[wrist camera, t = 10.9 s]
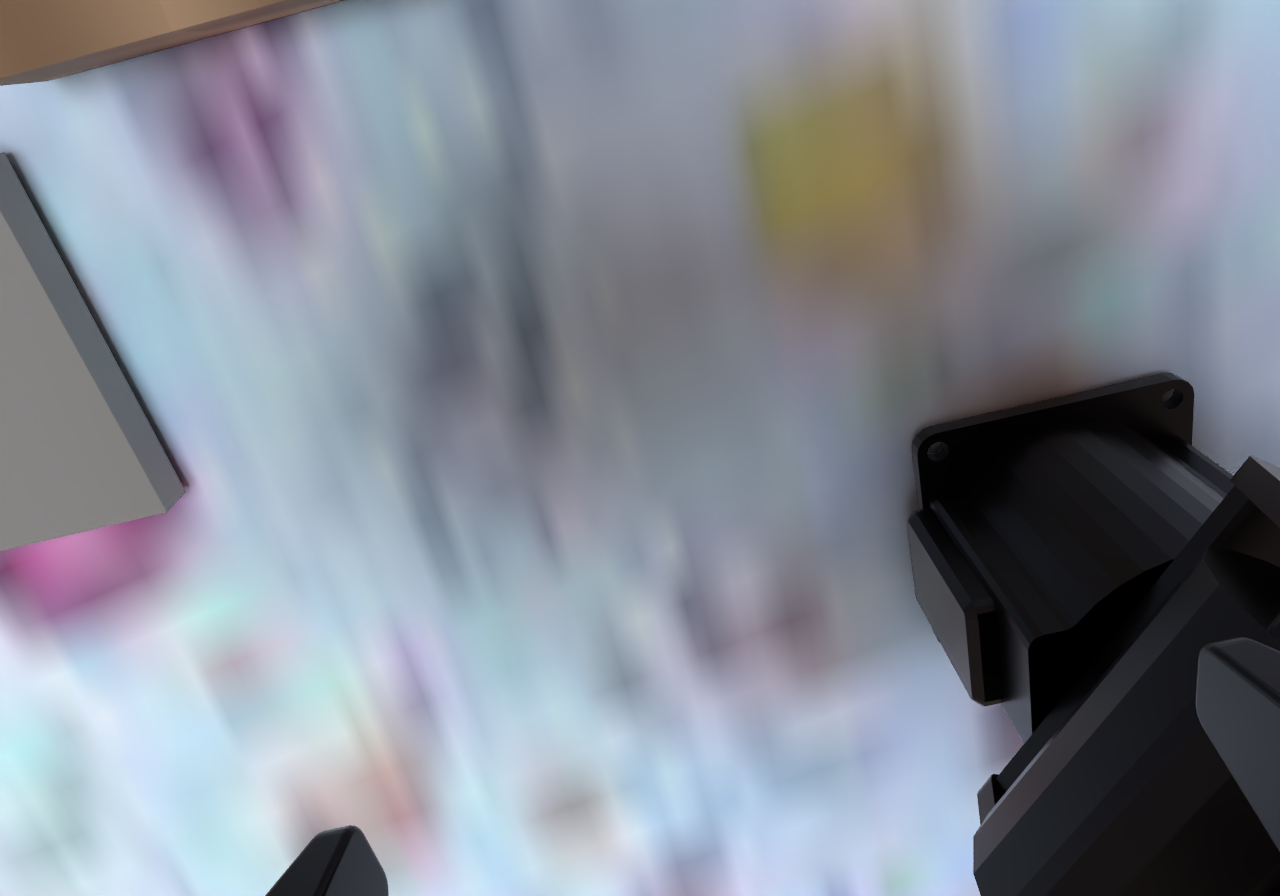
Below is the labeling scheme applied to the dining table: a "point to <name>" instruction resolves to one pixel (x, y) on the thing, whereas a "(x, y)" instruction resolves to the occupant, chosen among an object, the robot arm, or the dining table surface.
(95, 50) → the rack plate
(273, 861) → the dining table surface
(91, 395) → the grey square plate
